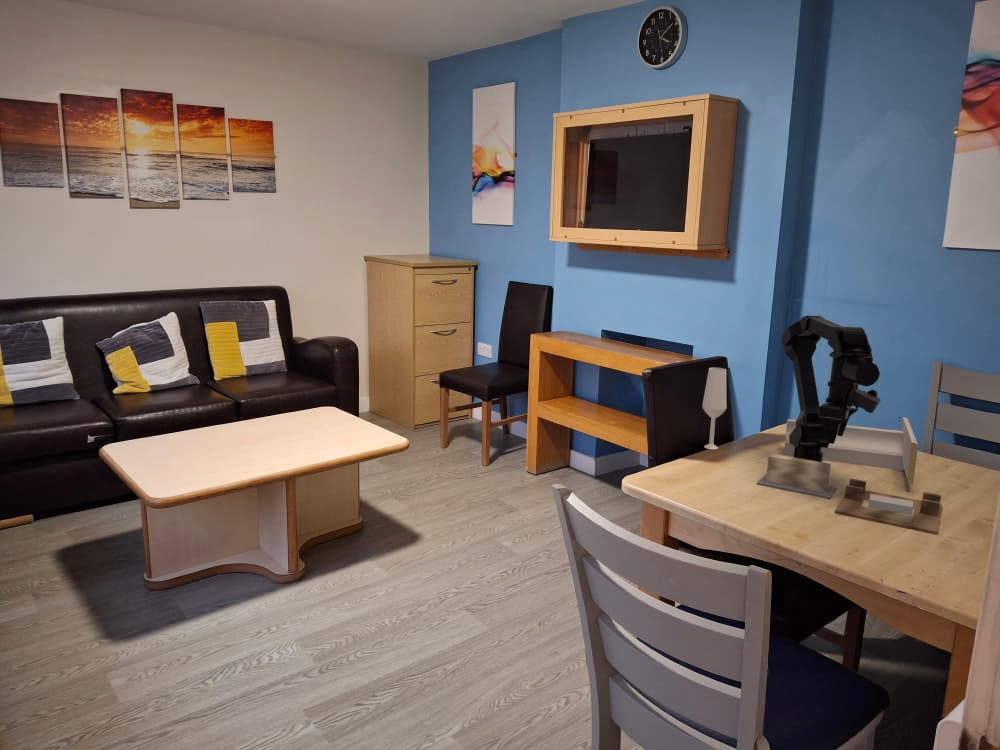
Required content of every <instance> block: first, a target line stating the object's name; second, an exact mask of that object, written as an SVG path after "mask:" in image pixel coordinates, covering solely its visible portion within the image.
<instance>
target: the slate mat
mask: <svg viewBox="0 0 1000 750" xmlns="http://www.w3.org/2000/svg"><path fill="white" fill-rule="evenodd" d="M766 476H767V473H765V474H764V475H763V476H762V477H761V478H760V479H759V480H758V481H757V482H756V485H757V486H758V485H759V486H762V487H763V486H764V487H768V488H774V489H779V490H783V491H788V492H793V493H799V494H803V495H804V494H805V495H809V496H814V497H818V498H823V499H828V500H830V499H831V498H832V496H833V495H834V493H835V492H836V490H837V487H836V486H832V485H828V490H827V491H826V493H825V492H820V491H815V490H810V489H805V488H800V487H795V486H790V485H785V484H780V483H774V482H769V481H766Z"/></svg>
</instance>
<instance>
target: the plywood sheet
mask: <svg viewBox="0 0 1000 750" xmlns="http://www.w3.org/2000/svg"><path fill="white" fill-rule="evenodd" d="M767 458H768V459H767V468H766V474H767V476H766V481H769V482H774V483H780V484H785V485H790V486H795V487H800V488H805V489H810V490H815V491H820V492H825V493H826V491H827V490H828V486H829V485H830V484H829V483H830V482H829V481H830V475H831V466H832V465H831V464H832V463H828V462H817V461H812V460H806V459H800V458H795V457H794V456H789V455H784V454H783V455H782V454H777V453H770V454H769V455H768V456H767Z"/></svg>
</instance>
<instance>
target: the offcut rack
mask: <svg viewBox="0 0 1000 750" xmlns="http://www.w3.org/2000/svg"><path fill="white" fill-rule="evenodd" d="M866 487H867V480H861V479H856V478H850V479H849V484H846V486H845V492H844V494H843V496H842V498H841V499H840V501H839V503H838V504H837V506H836V508H835V510H834V514H838V515H842V516H848V517H852V518H857V519H862V520H866V521H872V522H876V523H881V524H886V525H890V526H895V527H901V528H905V529H909V530H914V531H920V532H922V533H923V532H924V533H929V534H933V535H939V529H940V522H941V515H942V510H943V504H941V498H942V494H937V493H932V492H926V491H923V493H922V499H921V500H919V499H914V498H908V497H903V496H898V495H893V494H892V495H891V494H888V493H882V492H876V491H872V490H866ZM870 494H874V495H880V496H886V497H891V498H897V499H903V500H909V501H913V509H914V516H913V520H912V524H909V523H904V522H899V521H894V520H889V519H884V518H879V517H875V516H870V515H865V514H860V512H861V505H862V503H863V501H864V500H870Z"/></svg>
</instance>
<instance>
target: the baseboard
mask: <svg viewBox="0 0 1000 750" xmlns="http://www.w3.org/2000/svg"><path fill="white" fill-rule="evenodd" d="M901 418H902V420H901V423H902V424H901V430H900V431H903V432H904V436H903V443H902V444H903V449H902V451H903V458H902V462H903V466H904V470H905V471H904V472H905V476H906V479H907V482H908V484H909V485H914V480H915V479H914V478H915V473H916V472H915V471H916V464H917V457H918V449H919V444H918V441H917V438H916V435H915V433H914V430H913V428H912V426H911V423H910V421H909V419H908V418H907V417H905V416H904V417H901V416H899V417H898V419H899V420H898V421H900V419H901ZM897 428H898V429H899V428H900V427H899V425H898V427H897Z"/></svg>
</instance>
